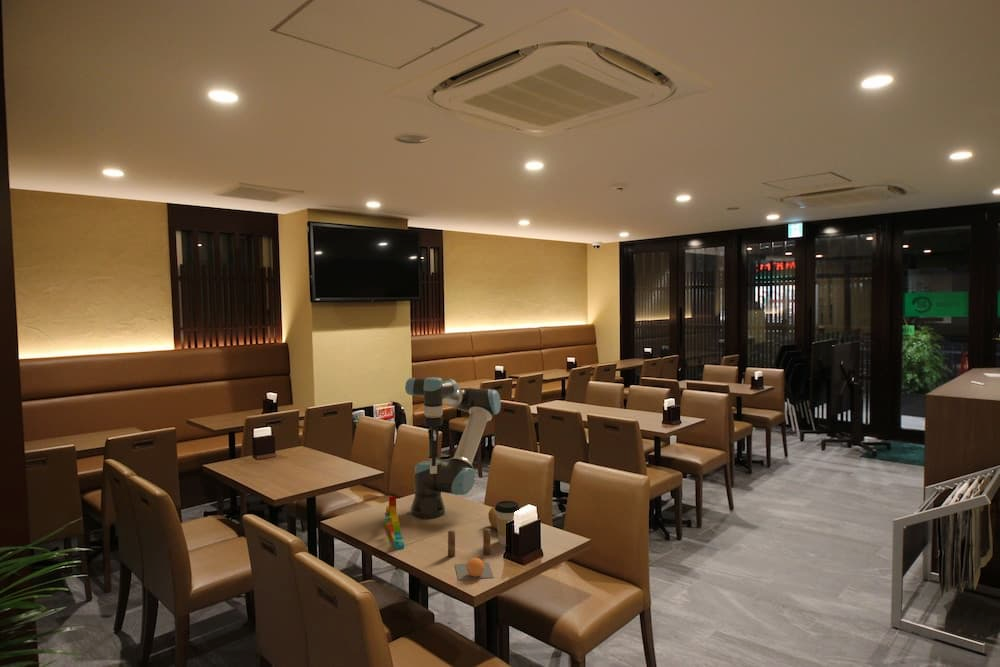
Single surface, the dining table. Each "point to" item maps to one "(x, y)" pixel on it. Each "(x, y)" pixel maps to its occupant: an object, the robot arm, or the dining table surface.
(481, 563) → the ball
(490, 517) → the potato
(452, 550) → the post
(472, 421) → the robot arm
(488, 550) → the post
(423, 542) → the dining table surface
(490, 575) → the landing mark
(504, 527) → the coffee cup
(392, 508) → the colorful toy block stack
